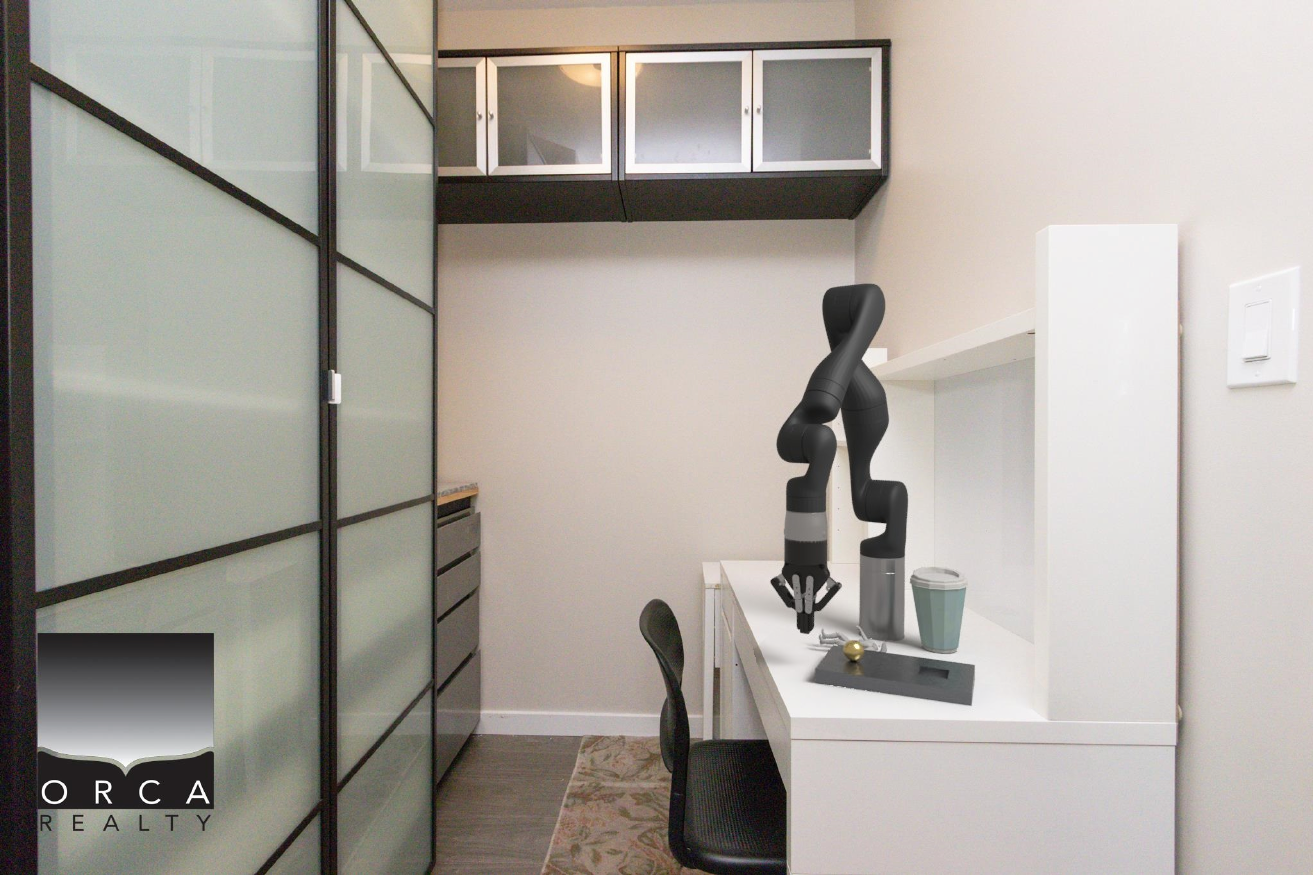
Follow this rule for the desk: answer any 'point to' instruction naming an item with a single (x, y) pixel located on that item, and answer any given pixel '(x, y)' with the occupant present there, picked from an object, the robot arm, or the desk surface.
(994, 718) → the desk surface
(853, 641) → the brass knob
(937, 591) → the disposable coffee cup
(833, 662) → the bore plate
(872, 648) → the soldier figure
